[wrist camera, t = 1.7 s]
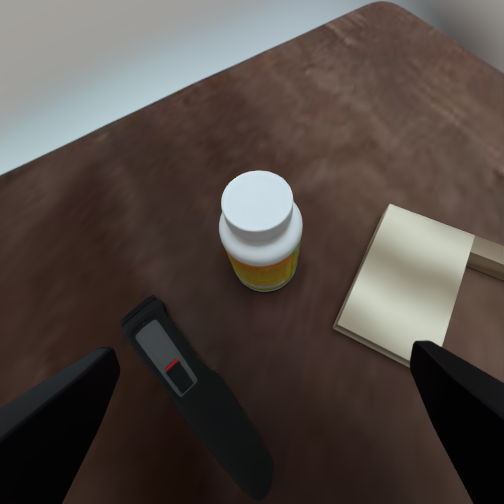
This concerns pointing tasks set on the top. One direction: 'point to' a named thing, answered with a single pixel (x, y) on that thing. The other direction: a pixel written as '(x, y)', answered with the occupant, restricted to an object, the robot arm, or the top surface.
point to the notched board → (411, 282)
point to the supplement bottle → (261, 230)
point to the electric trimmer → (200, 397)
